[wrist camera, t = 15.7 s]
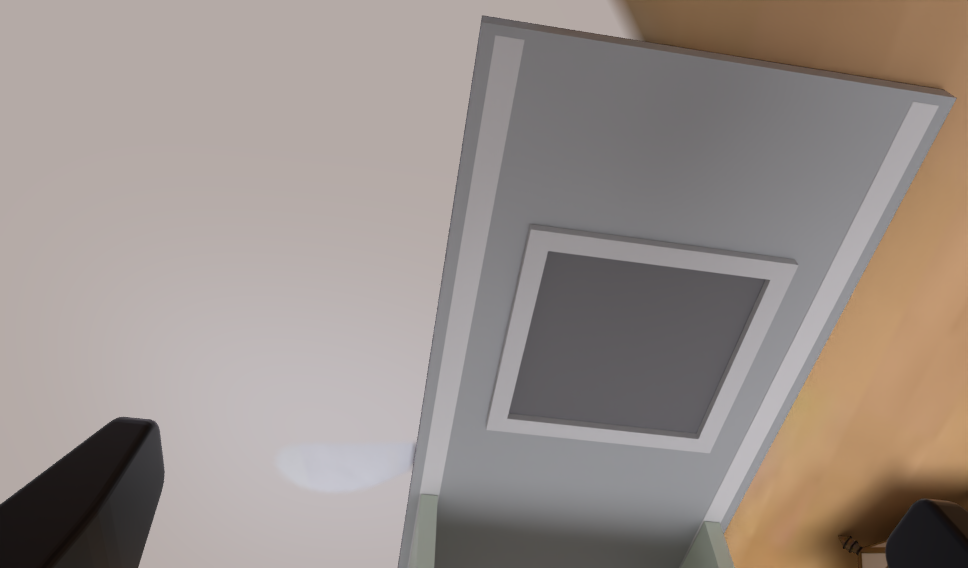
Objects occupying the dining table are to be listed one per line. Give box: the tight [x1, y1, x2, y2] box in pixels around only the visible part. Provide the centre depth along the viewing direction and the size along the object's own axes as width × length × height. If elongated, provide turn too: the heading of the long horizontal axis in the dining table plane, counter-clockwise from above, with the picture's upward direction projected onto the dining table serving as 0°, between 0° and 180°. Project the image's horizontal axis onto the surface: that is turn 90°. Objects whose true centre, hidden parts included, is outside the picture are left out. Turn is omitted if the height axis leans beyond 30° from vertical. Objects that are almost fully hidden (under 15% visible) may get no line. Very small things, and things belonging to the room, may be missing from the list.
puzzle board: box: [398, 16, 956, 568], centre depth 25 cm, size 12×24×1 cm, turn 171°
